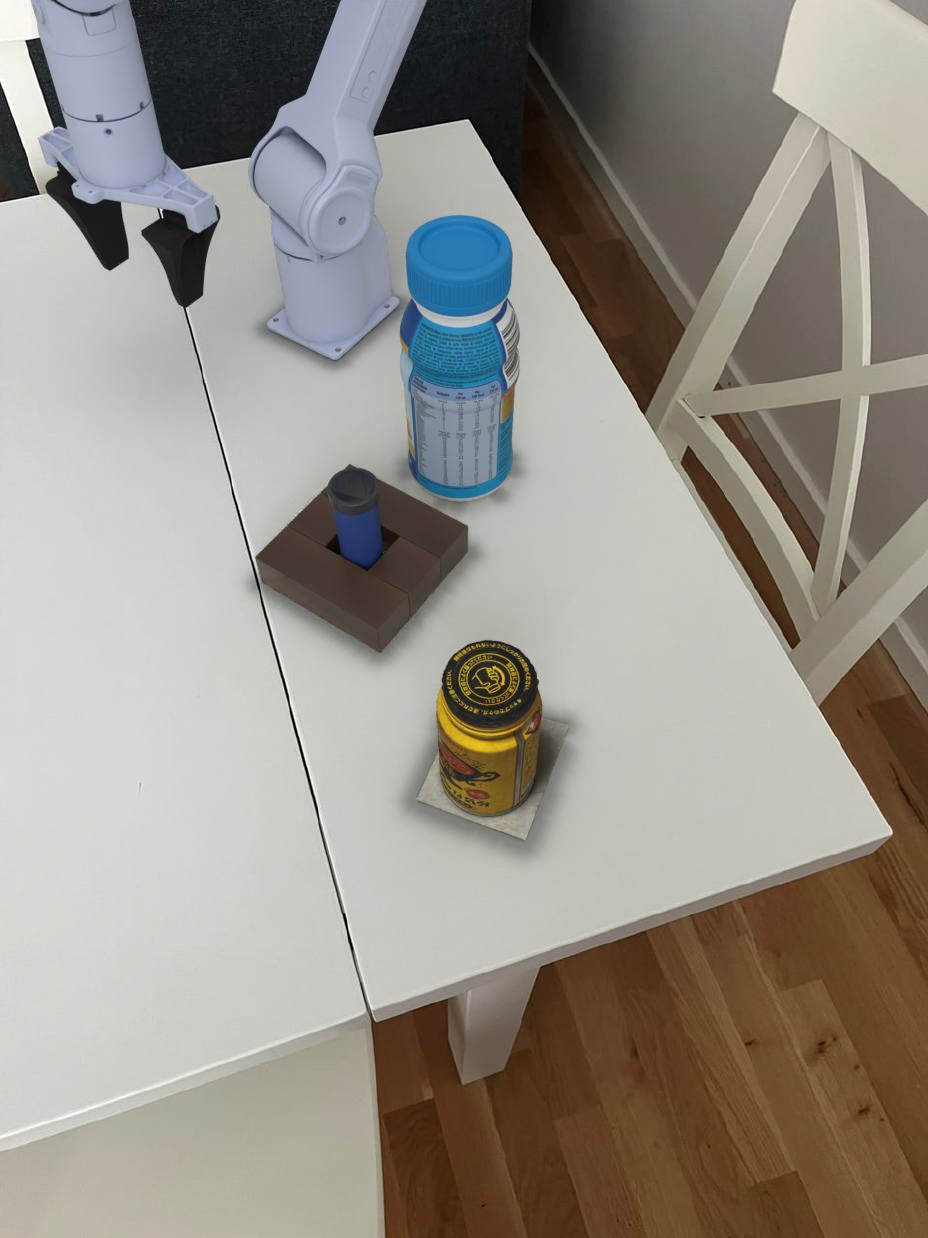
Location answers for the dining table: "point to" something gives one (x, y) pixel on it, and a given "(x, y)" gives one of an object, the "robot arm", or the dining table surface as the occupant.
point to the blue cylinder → (357, 515)
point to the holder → (346, 592)
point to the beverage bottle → (459, 357)
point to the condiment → (492, 739)
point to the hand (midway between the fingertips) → (153, 281)
